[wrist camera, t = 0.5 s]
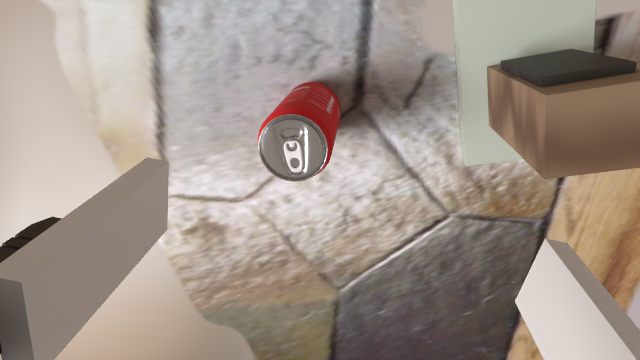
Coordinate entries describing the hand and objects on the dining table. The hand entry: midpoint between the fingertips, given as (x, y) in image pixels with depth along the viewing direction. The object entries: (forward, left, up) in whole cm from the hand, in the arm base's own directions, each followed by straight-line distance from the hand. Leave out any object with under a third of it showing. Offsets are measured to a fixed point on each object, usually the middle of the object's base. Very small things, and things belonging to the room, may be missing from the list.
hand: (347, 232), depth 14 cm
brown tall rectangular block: (+1, +14, -23) cm, 27 cm away
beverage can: (+1, -4, -25) cm, 26 cm away
